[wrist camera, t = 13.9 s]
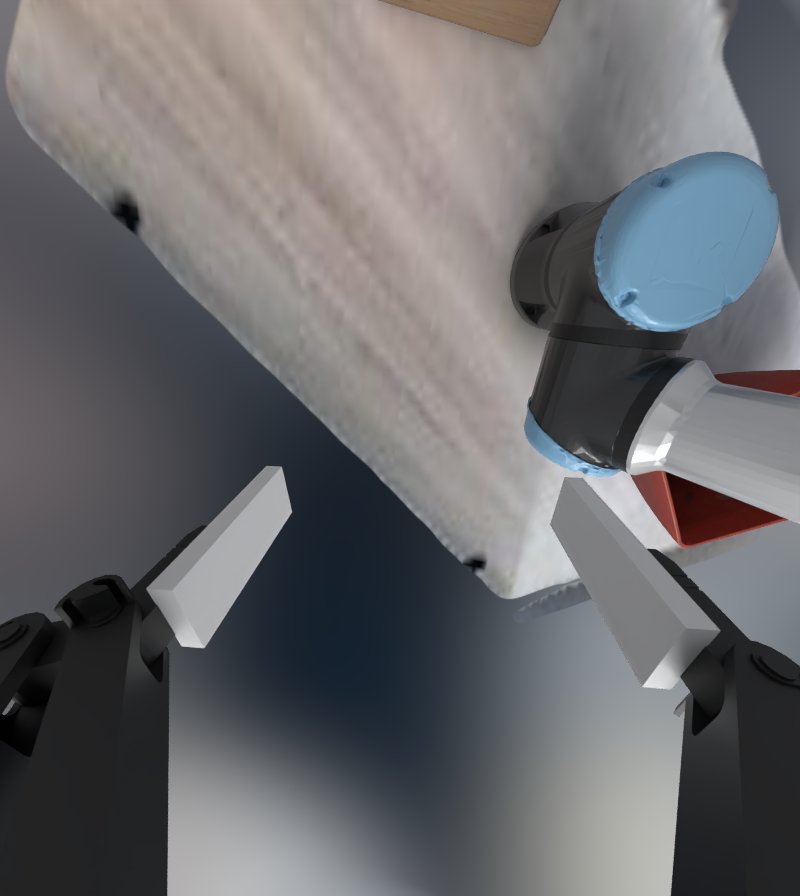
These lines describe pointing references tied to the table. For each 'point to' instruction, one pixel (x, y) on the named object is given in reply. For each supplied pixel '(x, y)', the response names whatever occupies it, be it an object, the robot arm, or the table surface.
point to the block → (492, 16)
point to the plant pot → (702, 509)
